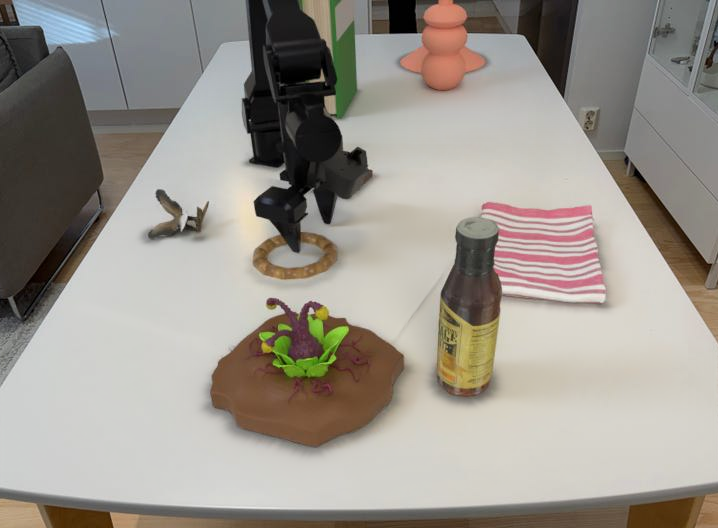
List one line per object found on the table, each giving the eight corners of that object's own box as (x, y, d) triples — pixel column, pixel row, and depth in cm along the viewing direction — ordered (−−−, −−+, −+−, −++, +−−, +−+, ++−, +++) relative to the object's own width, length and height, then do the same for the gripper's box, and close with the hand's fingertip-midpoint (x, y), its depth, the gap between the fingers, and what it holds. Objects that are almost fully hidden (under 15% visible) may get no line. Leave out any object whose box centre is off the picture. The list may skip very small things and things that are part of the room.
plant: (331, 471, 68) (322, 385, 61) (185, 403, 76) (163, 321, 69) (427, 360, 81) (429, 279, 74) (293, 313, 89) (284, 236, 82)
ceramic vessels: (402, 49, 181) (402, -32, 169) (483, 49, 180) (488, -33, 168) (395, 94, 154) (394, 1, 142) (490, 93, 153) (497, 0, 141)
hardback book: (341, 118, 143) (333, -10, 128) (306, 117, 145) (295, -10, 130) (357, 90, 157) (352, -29, 142) (325, 90, 158) (317, -29, 143)
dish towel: (591, 222, 105) (595, 201, 103) (605, 309, 88) (610, 286, 86) (478, 216, 108) (480, 196, 106) (470, 299, 90) (472, 277, 88)
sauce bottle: (431, 366, 80) (437, 210, 67) (485, 361, 80) (500, 205, 68) (441, 404, 75) (449, 243, 62) (497, 399, 75) (517, 238, 63)
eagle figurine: (215, 214, 109) (161, 200, 110) (205, 190, 102) (147, 176, 103) (199, 256, 107) (144, 242, 107) (188, 236, 100) (129, 221, 101)
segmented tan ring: (237, 273, 97) (235, 261, 96) (282, 235, 105) (281, 223, 104) (311, 292, 93) (310, 280, 92) (352, 251, 101) (351, 239, 100)
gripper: (321, 170, 83) (329, 280, 92) (387, 118, 95) (388, 219, 105) (244, 156, 87) (260, 263, 96) (317, 107, 99) (324, 207, 109)
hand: (312, 237), depth 102 cm, fingers open, 9 cm apart
